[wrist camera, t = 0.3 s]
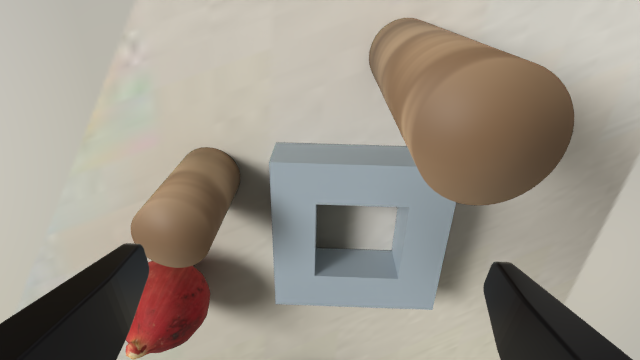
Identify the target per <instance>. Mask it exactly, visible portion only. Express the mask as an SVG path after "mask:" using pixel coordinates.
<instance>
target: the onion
mask: <svg viewBox="0 0 640 360" xmlns="http://www.w3.org/2000/svg"><path fill="white" fill-rule="evenodd" d="M148 264H149V276H148V279H147V282H146V285H145V288H144V290H143V293H142V296H141V299H140V302H139V305H138V308H137V311H136V314H135V317H134V320H133V323H132V325H131V328H130V331H129V333H128V335H127V338H126V341H127V342H128V343H129V344H128V345H127V346H126V356H128V357H130V358H131V359H136V358H140V357H142V356H144V355H146V354H149V353H160V352H164V351H166V350H169V349H172V348H175V347H177V346H179V345H181V344H183V343H184V342H186V341H187V340H188V339H189V338H190V337H191V336H192V335H193V334H194V332H195V331H196V330H197V329H198V328H199V327H200V326H201V324H202V323H203V321H204V319H205V318H206V316H207V312H208V307H209V300H210V290H209V286H208V284H207V282H206V280H205V278H204V276H203V274H202V273H201V272H199V271H198V270H197V269H196V268H195V267H193V266H189V267H184V268H173V267H167V266H164V265H161V264H158V263H156V262H154V261H151V262H149V263H148Z"/></svg>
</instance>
